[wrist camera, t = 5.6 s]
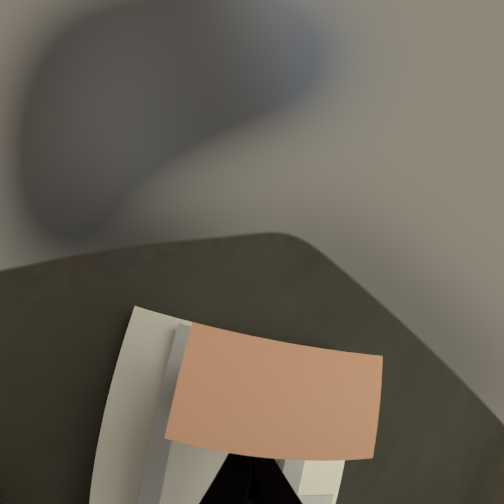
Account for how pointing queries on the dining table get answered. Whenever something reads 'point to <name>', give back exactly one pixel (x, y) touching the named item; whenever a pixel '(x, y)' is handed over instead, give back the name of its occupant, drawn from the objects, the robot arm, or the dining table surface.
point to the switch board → (155, 424)
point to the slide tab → (274, 398)
